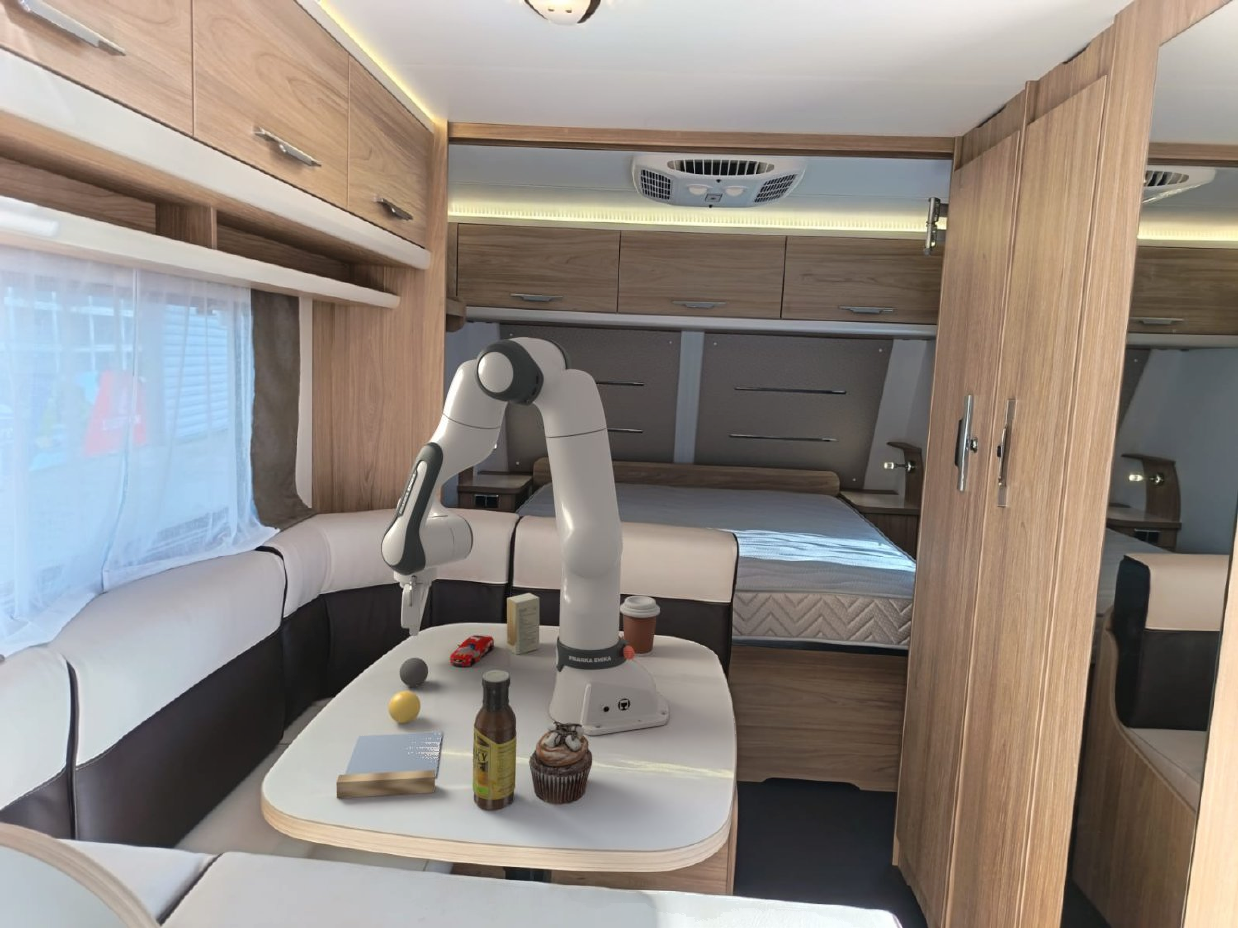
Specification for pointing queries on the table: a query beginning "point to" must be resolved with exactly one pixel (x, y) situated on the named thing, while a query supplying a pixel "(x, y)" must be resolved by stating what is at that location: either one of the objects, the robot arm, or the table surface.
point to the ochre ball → (404, 707)
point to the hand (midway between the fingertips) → (414, 633)
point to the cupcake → (561, 764)
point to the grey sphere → (413, 672)
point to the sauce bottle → (494, 744)
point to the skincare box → (522, 623)
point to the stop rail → (385, 783)
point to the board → (393, 753)
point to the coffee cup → (639, 623)
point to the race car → (472, 650)
